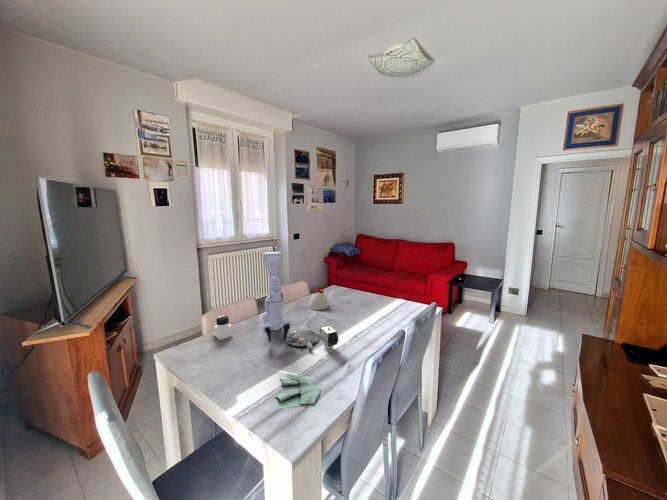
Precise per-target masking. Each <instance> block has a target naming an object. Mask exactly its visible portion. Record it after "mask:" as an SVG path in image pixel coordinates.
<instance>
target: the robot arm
mask: <svg viewBox="0 0 667 500" xmlns="http://www.w3.org/2000/svg"><path fill="white" fill-rule="evenodd" d="M282 258H283V257H282V252H281V251H272V252H271V251H269V252H268V251H267V252H263V253H262V259H263V260H262V261H263V262H262V263H263V267H265V268H266V269H267V270H268V287H269V289H268V290H269V292H268V293H269V294H268V296H267V297H266V298H265V300H264V311H265V312H264V313H263V315H262V324H261V330H262V331H265V333H266V335H267V339H268V342H269V343H272V337H271V333H272V331H275V332H277V331H279V330H280V329H281V328H282V329H283V339H284V340H286V337H287V335H288V334H289V331H290V329H291V326H292V320H291V319H284V320H283V316H284V315H283V310H284V305H283V302H284V292H283V288H282V284H281V278H279V276H278V273H279V271H278V267H280V266H281V264H282Z"/></svg>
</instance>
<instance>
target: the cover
mask: <svg viewBox="0 0 667 500" xmlns="http://www.w3.org/2000/svg"><path fill="white" fill-rule="evenodd" d="M289 333H290V335H291V340H298V338H299V337H300V331H298V330H292V331H291V332H289Z"/></svg>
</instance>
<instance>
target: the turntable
mask: <svg viewBox="0 0 667 500" xmlns="http://www.w3.org/2000/svg"><path fill="white" fill-rule="evenodd" d="M297 331H300V337H299V338H298V340H291V335H290V333H291V332H288V333H287V337H286V339H285V343H287V344H289V345H291V346H295V347H305V346H306V344H307V343H308V342H310V343H311V344H314V343H316V342H317V341H318V335H317V334H318V333H317V332H315V331H313V330H310V329H309V330H308V329H300V330H297Z"/></svg>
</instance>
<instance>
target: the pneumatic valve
mask: <svg viewBox="0 0 667 500" xmlns="http://www.w3.org/2000/svg"><path fill="white" fill-rule="evenodd" d="M319 334H320V338H321V340H320V341H322V342H323V345H324V346H323V347H324V348H323V350H324V351H326V352H327V353H328V352H329V353H331V352H333V351H334V346H335V345H336V346H337V345H338V343H339V335H338V331H337V330H336V328H334V327H332V326H330V325H324V326H320V329H319Z"/></svg>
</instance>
